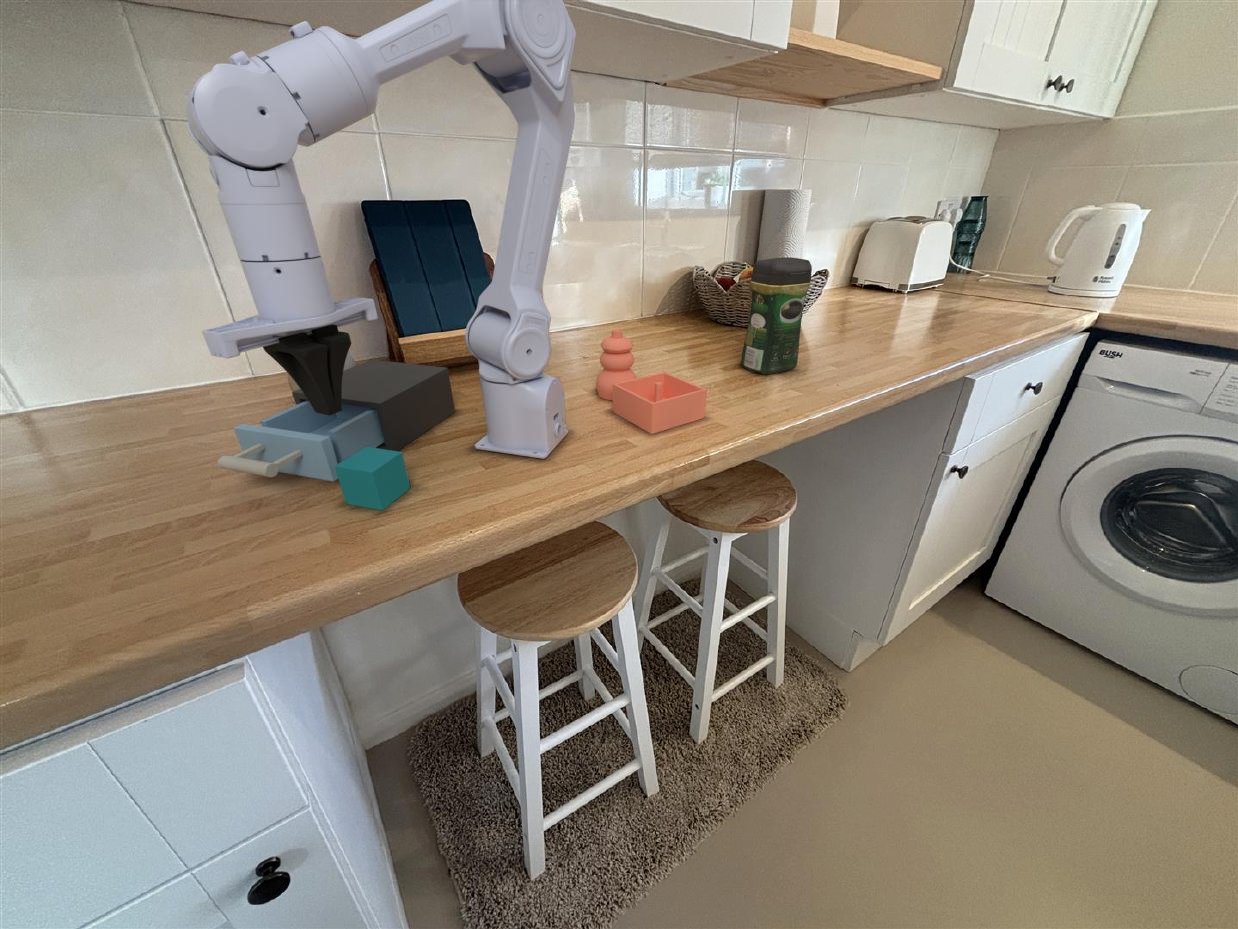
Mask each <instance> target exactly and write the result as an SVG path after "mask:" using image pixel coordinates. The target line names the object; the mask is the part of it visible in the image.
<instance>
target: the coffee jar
mask: <svg viewBox="0 0 1238 929" xmlns="http://www.w3.org/2000/svg"><path fill="white" fill-rule="evenodd" d="M812 271H813V266H812V264H811V261H810V260H808V259H804V258H799V257H793V256H792V257H791V256H789V257H787V256H785V257H774V258H767V259H766V258H765V259H759V260H757V261H756V262H755V263H754V265H753V267H752V273H751V278H750V282H749V284H750V290H751V306H750V311H749V318H748V323H747V328H746V332H745V333H746V334H745V338H744V342H743V345H742V346H743V347H742V351H741V359H740V364H741V366H742V367H743V368H744V369H746V370H747V371H749V372H752V373H760V374H763V375H770V374H775V373H783V372H787V371H791V370H794V369H795V368H796V367H797V366H798V360H799V350H800V337H801V327H802V320H803V310H804V306H805V301H806V298H807V294H808V292H809V289H810V287H811V283H812V273H813V272H812Z"/></svg>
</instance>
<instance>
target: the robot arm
mask: <svg viewBox="0 0 1238 929" xmlns="http://www.w3.org/2000/svg"><path fill="white" fill-rule="evenodd" d="M288 35H289V37H290V40H287V41H285V42H283V43H280V44H279V45H277V46H276V45H275V46H274V47H271V48H269V49H267V50H264V51H262V52H260V53H258V54H255V55H253V56H251V57H249V56H248V54H247V53H246V52H245V51H244V50H241V51H238V52H236V53H234V54H231V55H230V56H229V59H228V60H229V62H230V63H216V64H214V65H213V67H212V69H211V70H210V71H208V72H206V73H204V74H203V75H201V77H199V79H198V80H197V81H196V82H195V83H194V85H193V87H192V88H191V90H190V92H189V94H188V97H187V99H186V104H185V106H186V107H185V110H186V118H187V122H186V123H185V126H186V128H187V131H188V132H189V134H190V136H191V137H192V139H193V141H194V142H195V143H196V145H197V146H198V147H199V148H200V149H201V150H202V151H203V152H204V153H205V154H206V155H207V156H208V157H207V159H208V163H209V165H208V166H209V172H210V175H211V177H212V179H213V181H214V183H215V184H216V187H217V189H218V193H217V199H218V202H219V205H220V208H221V209H222V210H221V211H222V214H223V216H224V219H225V221H226V224H227V228H228V231H229V233H230V236H231V239H232V242H233V245H234V248H235V251H236V254H237V257H238V259H239V262H240V265H241V268H242V271H243V273H244V276H245V279H246V282H247V285H248V288H249V291H250V293H251V296H252V300H253V302H254V305H255V308H256V311H257V314H256V315H255V314H254V315H253V316H252V315H251V316H249V317H246V318H243V319H240V320H239V319H238V320H236V321H234V322H230V323H227V324H224V325H219V326H216V327H213V328H208V329H203V330H201V333H202V336H203V338H204V340H205V343H206V346H207V348H208V351H209V353H210V355H211V356H212V357H218V358H224V359H231V358H235V357H239V356H240V355H241V353H244V352H249V351H252V350H256V349H260V348H263V350H264V352H265V353H266V354H267V355H269V356H270V357H271V358H272V359H273V360H274V361H275V362H276V363H277V364H278V365H279V366H280V367H281V368H282V369H283V370H284V371H285V372H286V373H287V375H290V376H291V377H292V378H293V380H294V381H295V382H296V383H297V385H298V386H299V387H300V389H301V390H302V391H303V393H304V394H305V396H306V397H307V399H308V400H309V402H310V404H311V405H312V407H313V409H314V410H315V412H316V413H320V414H325V415H333V414H335V413H337V412H340V411H342V377H343V369H344V364H345V360H346V357H347V354H348V352H350V351H349V350H350V348H351V345H352V340H351V335H350V333H349V332H346V331H339V329H338V328H340V327H345V326H348V325H352V324H357V323H360V322H364V321H365V322H371V321H376V320H379V317H378V312H377V308H376V304H375V299H373V298H367V297H366V298H365V297H355V298H350V299H343V300H337V301H336V300H335V301H334V299H333V296H332V292H331V287H330V284H329V280H328V277H327V273H326V268H325V266H324V262H323V258H322V255H321V252H320V248H319V247H320V246H319V244H318V240H317V237H316V232H315V230H314V229H315V228H314V226H313V222H312V219H311V214H310V211H309V208H308V203H307V199H306V196H305V194H304V193H303V191H302V188H301V184H300V180H299V177H298V174H297V170H296V166H295V161H294V159H293V157H294V156H295V154H296V151H297V149H298V146H301V147H306V148H307V147H311V146H313V145H314V144H317V143H319V142H320V141H323V140H325V139H327V138H328V137H331V136H332V135H334V134H337V133H338V132H340V131H342V130H344V129H346V128H348V127H350V126H352V125H354V124H355V123H358V122H359V121H361V120H363V119H365V118H367V117H370V116H372V115H374V113H375V112H376V109H377V104H378V97H379V92H380V87H381V86H382V85H384V84H386V83H389V82H392V81H394V80H395V79H398V78H400V77H403V76H404V75H407V74H409V73H411V72H413V71H416V70H418V69H421V68H422V67H424V66H427V65H428V64H431V63H434V62H436V61H438V60H440V59H443V58H445V57H449V58H451V59H452V60H453V61H455V62H456V63H458V64H459V65H461V66H466V65H469V64H470V65H472V67H473V69H474V70H475V71H476V72H477V73H478V75H479V76H480V77H481V78H482V79H483V80H484V81H485V82H486V83H487V85H488V86H489V87H490V88H491V89H492V90H493V92H494V93H495V94H496V95H497V96H498V98H500V99H501V101H502V102H503V103H504V104H505V105H506V106H507V107H508V109H509V110H510V112H511V114H512V116H513V117H514V120H515V121H516V123H517V128H518V129H517V133H516V139H515V144H514V151H513V155H512V156H513V157H512V161H511V162H512V163H511V168H510V174H509V179H508V186H507V192H506V197H505V203H504V208H503V209H504V210H503V216H502V220H501V221H502V222H501V227H500V233H499V239H498V245H497V250H496V257H495V263H494V269H493V274H492V279H491V280H492V281H491V282H490V284H489V285H487V287H486V288H485V289H484V290H483V292H482V293H481V294H480V295H479V296H478V301H477V306H476V309H475V312H474V313H473V315H472V316H471V318H470V319H469V321H468V322H467V324H466V328H465V332H464V339H465V344H466V347H467V349H468V351H469V352H470V354H471V355H472V356H473V357H474V358H476V359H477V360H478V374H479V379H480V380H479V382H480V388H481V395H482V402H483V403H482V404H483V410H484V417H485V426H486V432H487V434H486V435H484V436H483V437H482V438H481V439H480V440H479V441H477V442H476V443H475V444H474V448H475V450H480V451H488V452H495V453H502V454H508V455H515V456H521V457H527V458H528V457H529V458H536V459H546V458H547V457H549V455H550V454H551V453H553V452H552V451H554V449H555V448H556V447H557V446H558V445H559V444H560V443H561V441H562V440H563V439H564V438H565V437H566V436H567V434H569V429H568V428H567V420H566V419H567V418H566V402H565V400H566V398H565V389H564V385H563V382H562V380H561V378H559V377H556V376H551V375H549V374H547V373H545V372H544V370H545V369H546V368H547V366H548V364H549V362H550V359H551V356H552V341H551V337H550V326H551V321H552V315H551V312H550V311H549V308H548V307H547V305H546V303H545V301H544V299H543V297H542V290H543V286H544V281H545V280H544V279H545V276H546V270H547V265H548V261H549V255H550V250H551V244H552V240H553V235H554V230H555V229H554V228H555V226H556V225H555V224H556V219H557V214H558V210H559V206H560V200H561V199H560V198H561V194H562V189H563V185H564V179H565V174H566V169H567V163H568V159H569V154H570V148H571V143H572V138H573V134H574V129H575V121H576V111H575V110H576V109H575V101H574V91H573V90H574V89H573V88H574V87H573V78H572V77H573V76H572V68H571V64H572V59H573V53H574V47H575V43H576V37H577V31H576V28H575V26H574V24H573V22H572V19H571V16H570V15H569V12H568V10H567V7H566V5H565V2H564V0H431V1H429V2H427V3H425V4H423V5H421V6H419V7H417V8H415V9H413V10H412V11H409V12H407V13H405V14H404V15H401V16H400V17H397V18H395V19H393V20H391V21H390V22H388V23H385V24H383V25H381V26H380V27H376V28H375V29H373V30H371V31H370V32H368V33H365V34H363V35H362V36H360V37H357V38H352V37H350V36H348V35H346V34H344V33H342V32H340V31H338V30H337V29H334V28H332V27H330V26H327V25H323V26H320V27H318V28H315V29H314V30H313V28H312V26H311V25H310V22H308V21H306V20H304V21H301V22H299V23H297V24H295V25H292V26H291V27H290V28H289V29H288Z"/></svg>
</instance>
